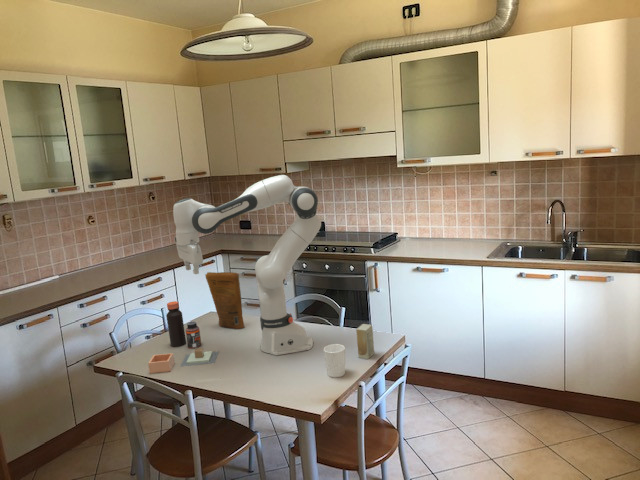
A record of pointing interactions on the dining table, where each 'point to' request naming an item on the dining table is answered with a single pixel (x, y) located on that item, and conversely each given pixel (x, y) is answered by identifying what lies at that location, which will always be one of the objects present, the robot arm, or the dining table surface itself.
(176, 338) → the vinegar
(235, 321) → the pancake mix bag
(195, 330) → the supplement bottle
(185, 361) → the mat
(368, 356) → the skincare box
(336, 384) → the dining table surface
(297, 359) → the dining table surface
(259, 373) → the dining table surface
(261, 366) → the dining table surface
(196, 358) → the lid
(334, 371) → the white cup
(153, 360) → the peach storage bin
